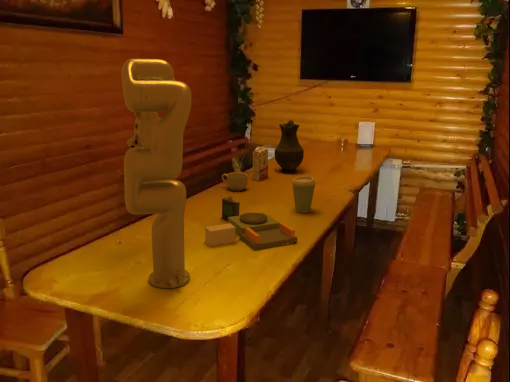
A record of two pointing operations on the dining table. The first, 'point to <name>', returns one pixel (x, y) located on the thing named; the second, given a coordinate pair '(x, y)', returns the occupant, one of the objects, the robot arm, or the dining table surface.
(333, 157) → the dining table surface
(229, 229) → the pale beige box
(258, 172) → the candy bar box
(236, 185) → the teacup
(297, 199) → the disposable coffee cup
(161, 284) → the robot arm
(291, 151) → the pitcher
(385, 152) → the dining table surface
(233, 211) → the flask
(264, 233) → the tray with orange tabs
